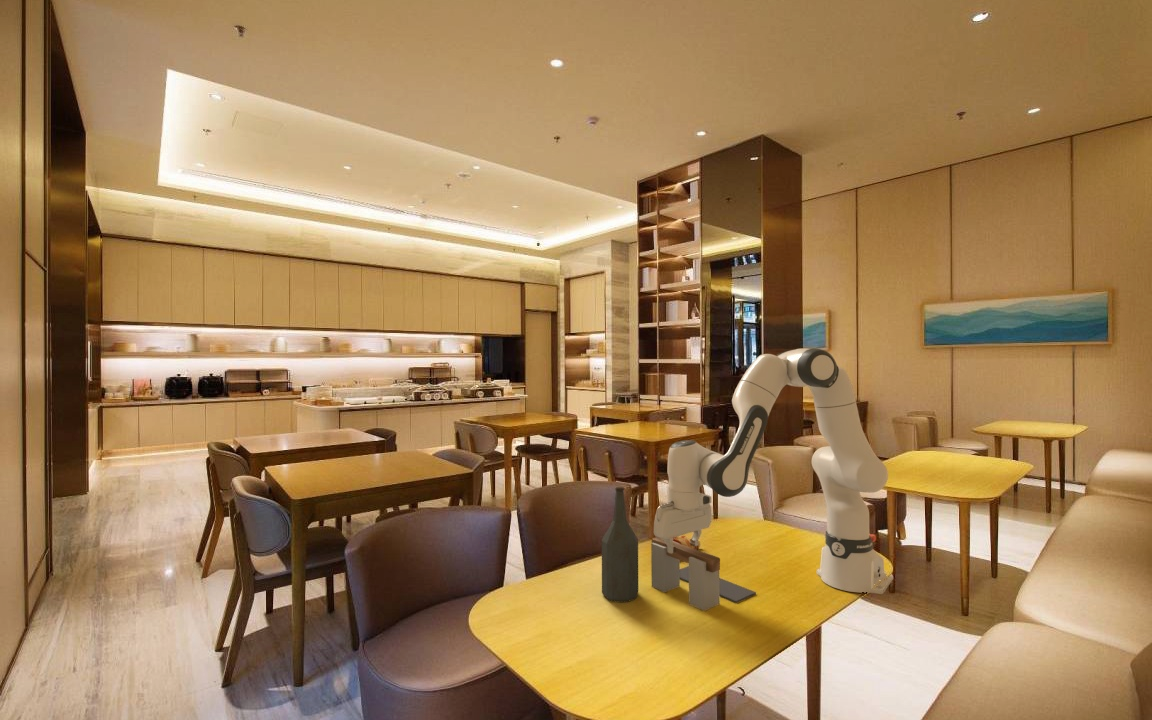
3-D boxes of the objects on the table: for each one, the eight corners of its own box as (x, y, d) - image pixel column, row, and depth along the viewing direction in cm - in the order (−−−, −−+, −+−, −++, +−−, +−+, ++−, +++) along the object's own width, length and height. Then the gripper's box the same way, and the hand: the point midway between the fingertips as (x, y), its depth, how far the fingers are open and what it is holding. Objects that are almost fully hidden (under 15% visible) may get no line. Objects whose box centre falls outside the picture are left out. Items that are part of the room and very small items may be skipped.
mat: (689, 567, 165) (689, 565, 165) (755, 594, 145) (755, 592, 145) (669, 574, 159) (669, 572, 159) (736, 603, 140) (736, 601, 140)
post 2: (704, 597, 144) (704, 552, 144) (719, 604, 140) (719, 557, 140) (689, 603, 140) (688, 557, 140) (703, 610, 136) (703, 563, 136)
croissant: (693, 555, 185) (685, 532, 188) (712, 549, 177) (704, 526, 181) (647, 567, 173) (640, 542, 176) (666, 561, 166) (658, 536, 169)
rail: (659, 546, 155) (659, 536, 155) (720, 569, 138) (720, 558, 138) (651, 549, 153) (651, 538, 153) (712, 572, 136) (712, 561, 136)
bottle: (644, 599, 143) (644, 489, 143) (612, 605, 139) (612, 492, 139) (626, 584, 152) (626, 481, 153) (596, 590, 149) (596, 484, 149)
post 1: (666, 580, 155) (666, 538, 155) (679, 586, 151) (679, 543, 151) (651, 586, 151) (651, 543, 151) (664, 592, 147) (664, 548, 147)
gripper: (665, 507, 137) (665, 560, 137) (715, 496, 149) (715, 544, 149) (648, 502, 142) (648, 553, 142) (698, 491, 154) (697, 538, 154)
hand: (683, 549), depth 145 cm, fingers open, 8 cm apart
